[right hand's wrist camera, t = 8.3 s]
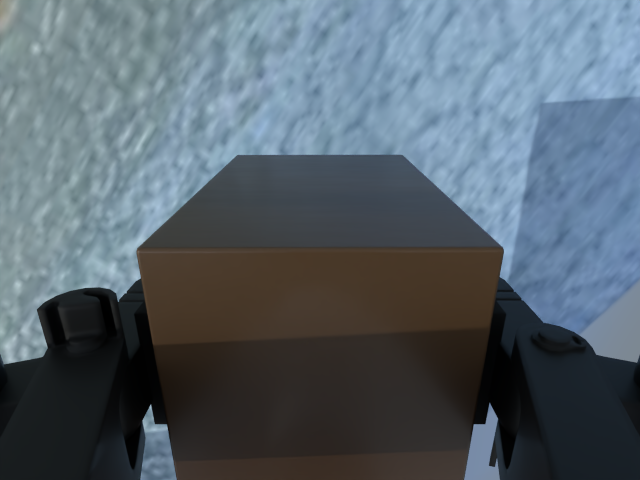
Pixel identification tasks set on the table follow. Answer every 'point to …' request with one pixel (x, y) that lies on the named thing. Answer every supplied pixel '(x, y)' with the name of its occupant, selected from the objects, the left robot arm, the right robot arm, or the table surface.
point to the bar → (320, 322)
